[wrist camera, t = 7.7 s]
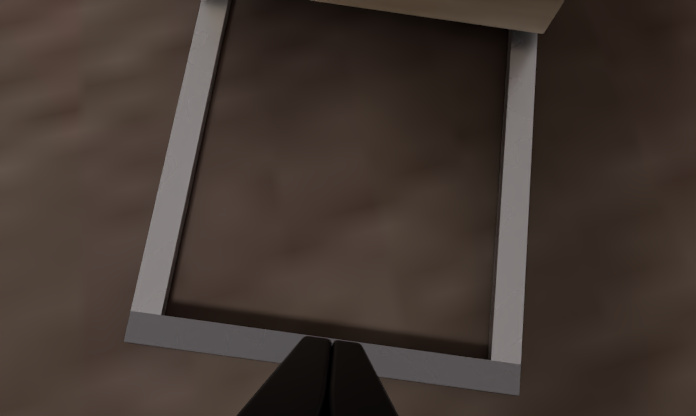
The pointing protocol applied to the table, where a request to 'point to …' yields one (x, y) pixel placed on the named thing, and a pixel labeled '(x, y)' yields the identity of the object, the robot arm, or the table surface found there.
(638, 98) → the table surface
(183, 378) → the table surface
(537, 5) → the toy sofa
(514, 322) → the steel handle
